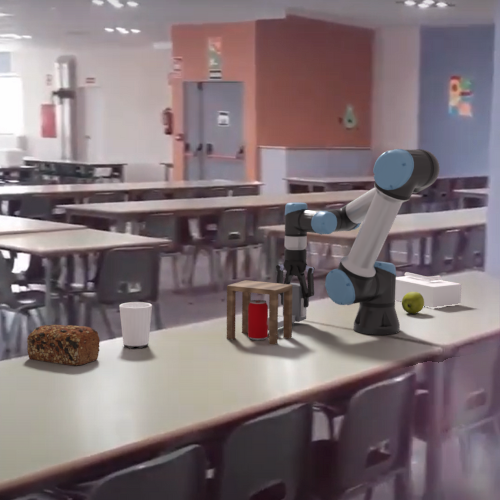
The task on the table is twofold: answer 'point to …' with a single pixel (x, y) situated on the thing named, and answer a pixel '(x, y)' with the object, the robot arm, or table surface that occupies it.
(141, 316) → the cup
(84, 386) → the table surface
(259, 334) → the beverage can
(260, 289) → the small wooden table
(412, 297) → the apple
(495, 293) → the table surface
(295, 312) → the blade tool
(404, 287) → the tissue box
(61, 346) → the bread
